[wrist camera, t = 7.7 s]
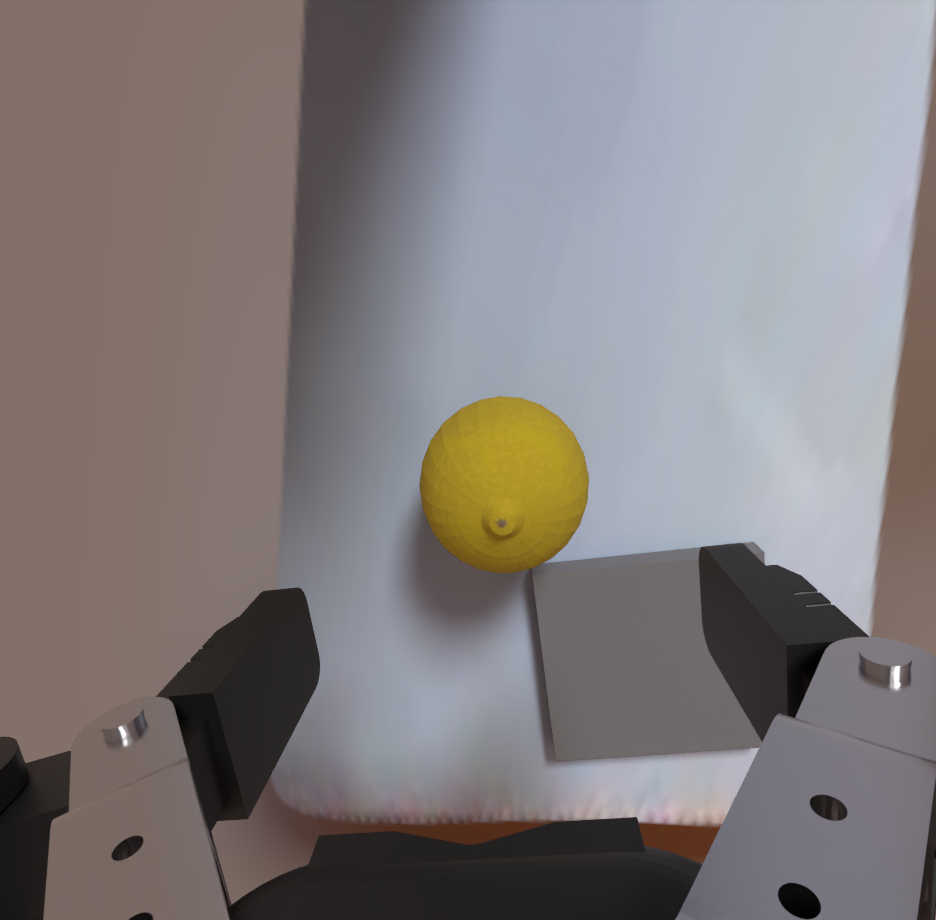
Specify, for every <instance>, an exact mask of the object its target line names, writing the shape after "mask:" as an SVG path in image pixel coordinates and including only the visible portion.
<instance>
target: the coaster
mask: <svg viewBox="0 0 936 920" xmlns="http://www.w3.org/2000/svg"><path fill="white" fill-rule="evenodd" d="M743 544H744V545H745V546H746V547H747V548H748V549H749V550H750V551H751V552H752V553H753V554H754V555H755V556H756V557H757V558H758V559H760V560H761V561H762V562H763V563H764V552H763V551H762V550H761V549H760V548H759V547H758V546H757V545H756V544H755V543H754V542H750V543H743ZM699 551H700V548H692V549H682V550H672V551H663V552H653V553H643V554H633V555H624V556H614V557H604V558H594V559H585V560H575V561H565V562H555V563H546V564H540V565H538V566H536V567H534V568H532V578H533V586H534V594H535V602H536V609H537V617H538V625H539V633H540V641H541V649H542V657H543V664H544V672H545V680H546V688H547V696H548V704H549V712H550V719H551V727H552V735H553V743H554V751H555V759H556V761H568V760H583V759H598V758H612V757H627V756H642V755H656V754H671V753H686V752H700V751H715V750H730V749H744V748H759V747H760V746H761V744H762V741H761V739H760V738H759V736H758V734H757V733H756V731H755V729H754V728H753V726H752V724H751V722H750V721H749V719H748V717H747V716H746V714H745V712H744V711H743V709H742V707H741V706H740V704H739V702H738V700H737V699H736V697H735V695H734V694H733V692H732V690H731V689H730V687H729V685H728V683H727V682H726V680H725V678H724V677H723V675H722V673H721V672H720V670H719V668H718V666H717V665H716V663H715V661H714V660H713V658H712V656H711V654H710V652H709V650H708V647H707V644H706V641H705V637H704V632H703V626H702V614H701V595H700V577H699ZM764 564H765V563H764Z"/></svg>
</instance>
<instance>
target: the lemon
mask: <svg viewBox="0 0 936 920" xmlns="http://www.w3.org/2000/svg"><path fill="white" fill-rule="evenodd" d="M588 483H589V476H588V471H587V466H586V462H585V457H584V453H583V451H582V449H581V447H580V445H579V443H578V441H577V439H576V437H575V435H574V434H573V432H572V431H571V430H570V429H569V428H568V427H567V425H566V424H565V423H564V422H563V421H562V420H561V419H560V418H559V417H558V416H557V415H555V414H554V413H552V412H551V411H549V410H548V409H546V408H545V407H543V406H542V405H540V404H537V403H534V402H531V401H528V400H525V399H522V398H514V397H502V396H500V397H494V398H489V399H483V400H479V401H477V402H475V403H472V404H470V405H468V406H466V407H464V408H461V409H460V410H459V411H458V412H456V413H455V414H454V415H453V416H451V417H450V418H449V419H448V420H446V421H445V422H444V423H443V425H442V426H441V427H440V429H439V430H438V431H437V433H436V434H435V435H434V437H433V438H432V440H431V441H430V444H429V446H428V449H427V452H426V454H425V457H424V459H423V462H422V470H421V478H420V492H421V498H422V505H423V510H424V513H425V515H426V518H427V520H428V522H429V525H430V527H431V529H432V531H433V533H434V534H435V536H436V537H437V538H438V540H439V541H440V542H441V543H442V545H443V546H444V547H445V548H446V549H447V550H448V551H449V552H451V553H452V554H453V555H454V556H456V557H457V558H458V559H459V560H461V561H462V562H465V563H467V564H469V565H471V566H473V567H475V568H477V569H481V570H485V571H490V572H495V573H514V572H519V571H523V570H527V569H531V568H534V567H536V566H538V565H540V564H542V563H544V562H545V561H547V560H549V559H551V558H553V557H554V556H555V555H556V554H557V553H558V552H559V551H560V550H561V549H562V548H564V547H565V546H566V545H567V543H568V542H569V540H570V539H571V537H572V536H573V534H574V533H575V531H576V530H577V528H578V527H579V525H580V522H581V519H582V516H583V513H584V510H585V507H586V505H587V500H588Z"/></svg>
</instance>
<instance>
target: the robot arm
mask: <svg viewBox="0 0 936 920" xmlns="http://www.w3.org/2000/svg"><path fill="white" fill-rule="evenodd" d="M699 577H700V595H701V614H702V626H703V632H704V637H705V641H706V644H707V647H708V650H709V652H710V654H711V656H712V658H713V660H714V661H715V663H716V665H717V666H718V668H719V670H720V672H721V673H722V675H723V677H724V678H725V680H726V682H727V683H728V685H729V687H730V689H731V690H732V692H733V694H734V695H735V697H736V699H737V700H738V702H739V704H740V706H741V707H742V709H743V711H744V712H745V714H746V716H747V717H748V719H749V721H750V722H751V724H752V726H753V728H754V729H755V731H756V733H757V734H758V736H759V738H760V739H761V741H762V744H761V746H760V748H759V750H758V752H757V754H756V756H755V758H754V760H753V762H752V764H751V766H750V769H749V771H748V773H747V775H746V777H745V779H744V781H743V783H742V785H741V787H740V789H739V791H738V793H737V795H736V797H735V799H734V801H733V803H732V805H731V808H730V810H729V812H728V814H727V816H726V818H725V820H724V822H723V824H722V826H721V828H720V830H719V832H718V834H717V836H716V838H715V840H714V842H713V844H712V846H711V849H710V851H709V853H708V855H707V857H706V859H705V861H704V863H703V865H702V864H700V863H698V862H695V861H693V860H690V859H688V858H685V857H683V856H680V855H678V854H674V853H671V852H667V851H664V850H661V849H657V848H652V847H647V846H644V844H643V840H642V836H641V832H640V828H639V824H638V820H637V817H632V818H615V819H598V820H580V821H563V822H554V823H550V824H547V825H544V826H540V827H536V828H533V829H529V830H526V831H522V832H519V833H515V834H512V835H508V836H505V837H502V838H498V839H495V840H491V841H488V842H484V843H481V844H476V845H465V844H459V843H453V842H448V841H443V840H438V839H432V838H427V837H422V836H416V835H411V834H406V833H400V832H395V831H391V832H374V833H358V834H357V833H356V834H339V835H322V836H319V837H318V840H317V843H316V845H315V848H314V851H313V854H312V856H311V859H310V862H309V865H306V866H303V867H299V868H297V869H294V870H292V871H290V872H287V873H284V874H282V875H280V876H278V877H276V878H274V879H272V880H270V881H268V882H266V883H264V884H262V885H261V886H259V887H257V888H256V889H254V890H253V891H251V892H249V893H248V894H246V895H245V896H243V897H242V898H240V899H239V900H238V901H236V902H235V903H234V904H231V901H230V897H229V893H228V890H227V887H226V883H225V879H224V875H223V872H222V868H221V864H220V861H219V857H218V854H217V850H216V846H215V843H214V840H213V836H212V833H211V831H212V829H213V827H214V825H215V824H216V822H217V821H224V820H240V819H248V818H249V816H250V814H251V812H252V810H253V808H254V806H255V804H256V803H257V801H258V799H259V797H260V794H261V793H262V791H263V789H264V787H265V785H266V783H267V781H268V779H269V777H270V776H271V774H272V772H273V770H274V768H275V766H276V764H277V762H278V760H279V758H280V756H281V754H282V752H283V750H284V748H285V747H286V745H287V743H288V741H289V739H290V737H291V735H292V733H293V731H294V729H295V727H296V725H297V723H298V721H299V720H300V718H301V716H302V714H303V712H304V710H305V708H306V706H307V704H308V702H309V700H310V698H311V696H312V694H313V692H314V691H315V689H316V686H317V684H318V680H319V674H320V659H319V653H318V648H317V644H316V639H315V635H314V631H313V626H312V622H311V617H310V613H309V608H308V604H307V600H306V597H305V594H304V592H303V591H302V589H300V588H288V589H279V590H269V591H263V592H261V593H260V594H259V596H258V597H257V598H256V599H255V600H254V601H253V602H252V603H251V604H250V606H249V607H248V608H247V609H246V610H245V611H244V612H243V613H242V614H241V616H240V617H237V618H236V619H234V620H233V621H231V622H230V623H228V624H227V625H225V626H224V627H222V628H221V629H219V630H217V631H216V632H215V633H214V634H213V635H212V637H211V638H210V639H209V640H208V641H207V642H206V643H205V644H204V645H203V646H202V647H203V649H200V650H199V651H198V652H197V653H196V654H195V655H194V656H193V657H192V658H191V662H188V663H187V664H186V665H185V666H184V667H183V668H182V669H181V670H180V671H179V672H178V673H177V675H176V676H175V677H174V678H173V679H172V680H171V681H170V682H169V683H168V684H167V685H166V686H165V687H164V689H163V690H162V691H161V692H160V693H159V694H158V695H157V696H156V697H149V698H143V699H138V700H135V701H131V702H128V703H126V704H123V705H120V706H118V707H116V708H114V709H112V710H110V711H108V712H106V713H104V714H103V715H101V716H99V717H98V718H96V719H95V720H93V721H92V722H91V723H89V724H88V725H87V726H86V727H85V728H83V730H82V731H81V732H80V733H79V734H78V735H77V736H76V738H75V739H74V741H73V743H72V747H71V751H68V752H64V753H61V754H57V755H54V756H50V757H47V758H43V759H39V760H36V761H33V762H29V763H25V761H24V759H23V756H22V754H21V751H20V748H19V745H18V743H17V741H16V740H15V739H14V738H11V737H0V920H935V915H936V657H934V656H932V655H931V654H929V653H927V652H925V651H923V650H921V649H919V648H916V647H914V646H911V645H908V644H905V643H902V642H898V641H894V640H889V639H884V638H874V637H869V636H868V635H867V634H866V633H865V632H863V631H862V630H861V629H860V628H859V627H858V626H857V625H856V624H855V623H853V622H852V621H851V620H850V619H849V618H848V617H847V616H846V615H845V614H843V613H842V612H841V611H840V610H839V609H838V608H837V607H836V606H835V605H831V602H830V601H829V600H828V599H827V598H826V597H825V596H823V595H822V594H821V593H818V592H817V589H816V588H815V587H813V586H812V585H811V584H810V583H809V582H808V581H807V580H806V579H804V578H803V577H802V576H801V575H799V574H796V573H794V572H792V571H789V570H787V569H785V568H783V567H780V566H778V565H769V566H766V565H765V564H764V563H763V562H762V561H761V560H760V559H758V558H757V557H756V556H755V555H754V554H753V553H752V552H751V551H750V550H749V549H748V548H747V547H746V546H745V545H744V544H743V543H735V544H725V545H716V546H706V547H701V548H700V551H699Z"/></svg>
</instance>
